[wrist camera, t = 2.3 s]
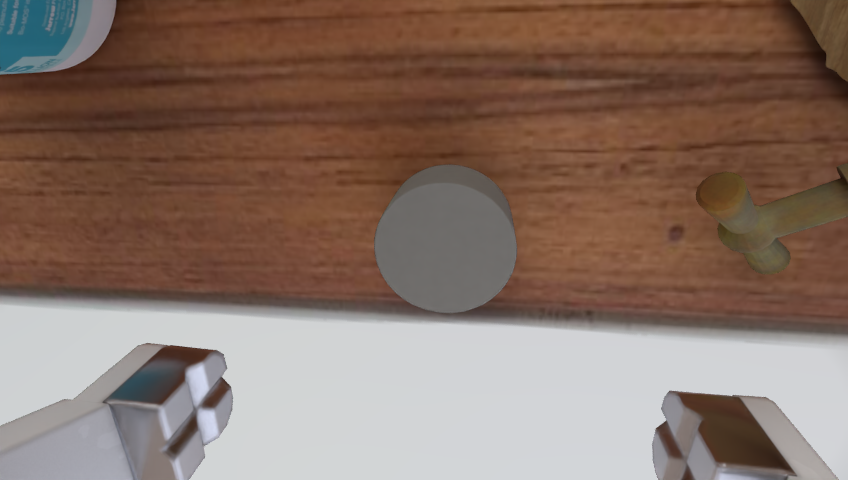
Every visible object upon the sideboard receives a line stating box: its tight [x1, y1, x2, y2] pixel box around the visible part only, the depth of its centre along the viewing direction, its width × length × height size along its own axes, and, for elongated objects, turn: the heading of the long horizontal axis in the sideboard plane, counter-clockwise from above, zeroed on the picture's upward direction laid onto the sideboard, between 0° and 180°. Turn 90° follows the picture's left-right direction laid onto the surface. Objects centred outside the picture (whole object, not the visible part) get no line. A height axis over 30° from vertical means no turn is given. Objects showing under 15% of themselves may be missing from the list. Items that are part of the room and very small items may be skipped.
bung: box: [374, 165, 517, 313], centre depth 17 cm, size 5×5×4 cm
